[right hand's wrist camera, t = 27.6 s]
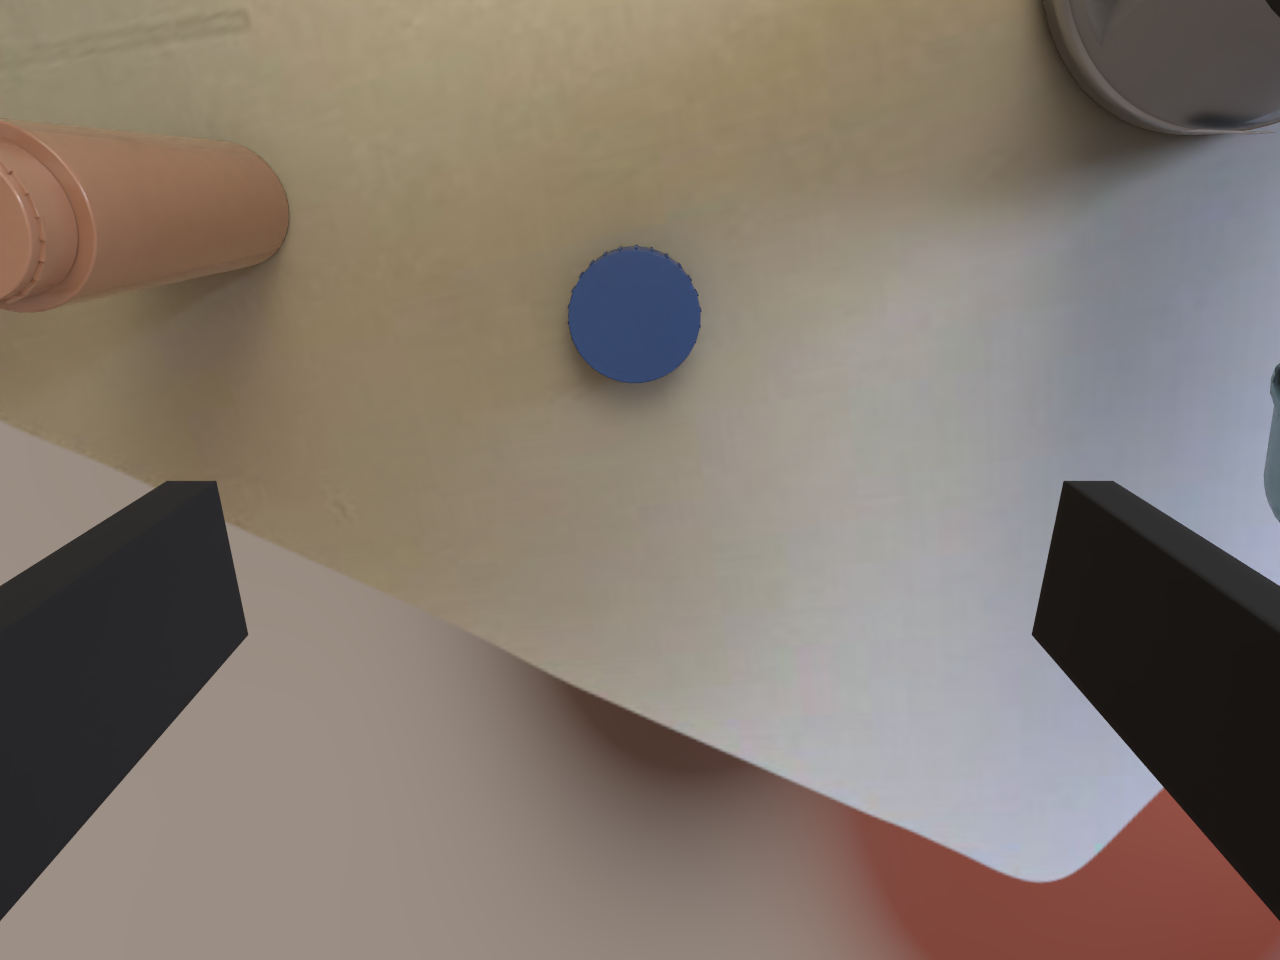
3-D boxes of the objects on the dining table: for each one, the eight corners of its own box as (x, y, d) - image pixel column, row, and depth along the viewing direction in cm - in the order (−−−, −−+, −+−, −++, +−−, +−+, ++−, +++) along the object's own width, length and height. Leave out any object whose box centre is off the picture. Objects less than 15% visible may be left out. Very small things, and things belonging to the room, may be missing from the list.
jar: (294, 272, 36) (65, 331, 22) (175, 262, 36) (-133, 315, 21) (284, 146, 34) (28, 120, 20) (160, 135, 34) (-190, 100, 19)
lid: (562, 251, 35) (558, 255, 33) (694, 238, 35) (697, 242, 33) (578, 379, 38) (575, 390, 36) (702, 368, 37) (706, 378, 35)
